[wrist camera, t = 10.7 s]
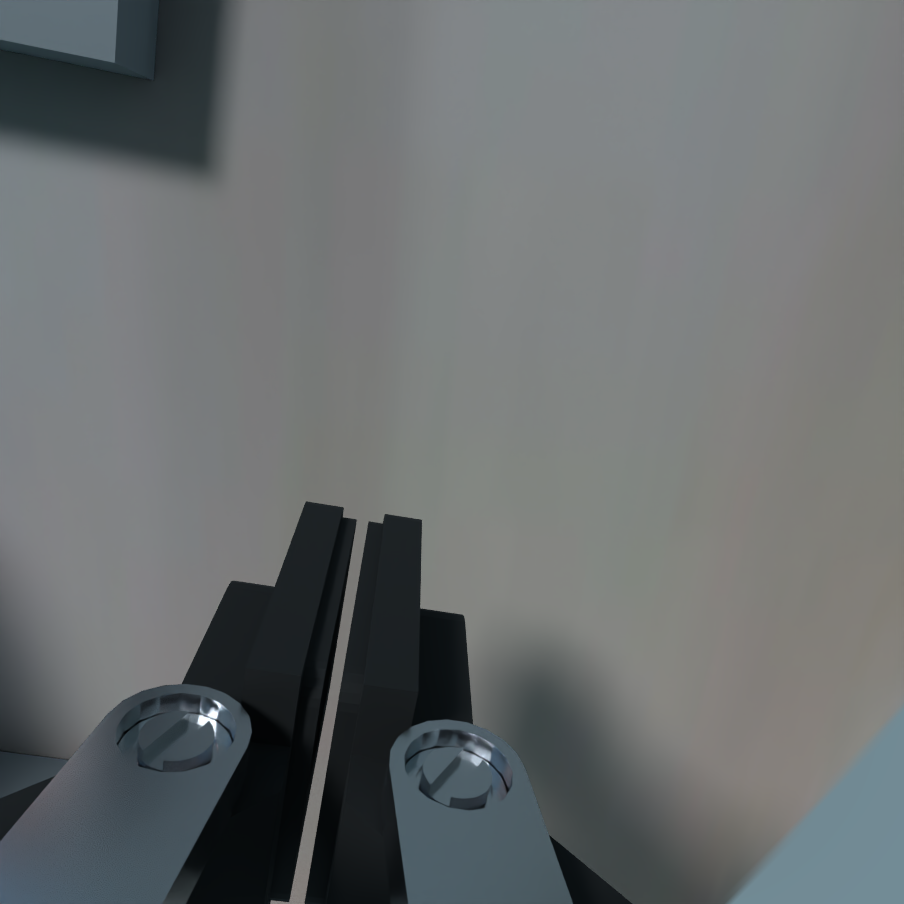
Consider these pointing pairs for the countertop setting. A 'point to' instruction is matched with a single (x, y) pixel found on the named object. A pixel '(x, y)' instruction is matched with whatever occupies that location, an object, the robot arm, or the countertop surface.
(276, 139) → the countertop surface
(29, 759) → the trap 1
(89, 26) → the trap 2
